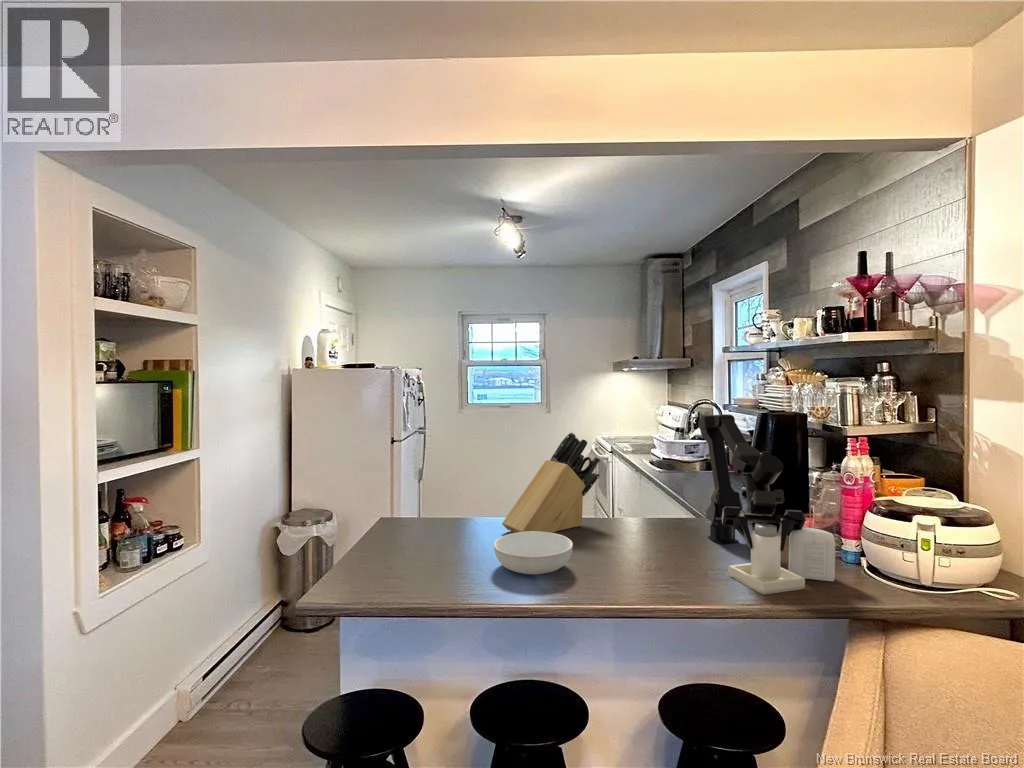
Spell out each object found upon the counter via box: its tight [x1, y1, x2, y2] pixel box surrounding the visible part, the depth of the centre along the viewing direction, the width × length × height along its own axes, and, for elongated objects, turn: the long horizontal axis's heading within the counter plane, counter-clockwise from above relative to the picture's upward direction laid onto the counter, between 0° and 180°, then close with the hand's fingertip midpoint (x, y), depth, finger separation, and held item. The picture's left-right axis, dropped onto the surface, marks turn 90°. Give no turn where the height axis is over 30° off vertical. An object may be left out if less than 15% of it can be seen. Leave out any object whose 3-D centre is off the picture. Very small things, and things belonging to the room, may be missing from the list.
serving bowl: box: [493, 531, 574, 575], centre depth 139 cm, size 21×21×7 cm
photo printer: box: [787, 527, 836, 582], centre depth 132 cm, size 10×4×12 cm, turn 72°
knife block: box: [501, 431, 601, 533], centre depth 175 cm, size 11×35×31 cm, turn 127°
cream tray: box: [727, 562, 806, 595], centre depth 129 cm, size 12×12×2 cm
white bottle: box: [750, 522, 782, 580], centre depth 129 cm, size 7×7×12 cm
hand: (766, 549), depth 128 cm, fingers closed on white bottle, 7 cm apart
